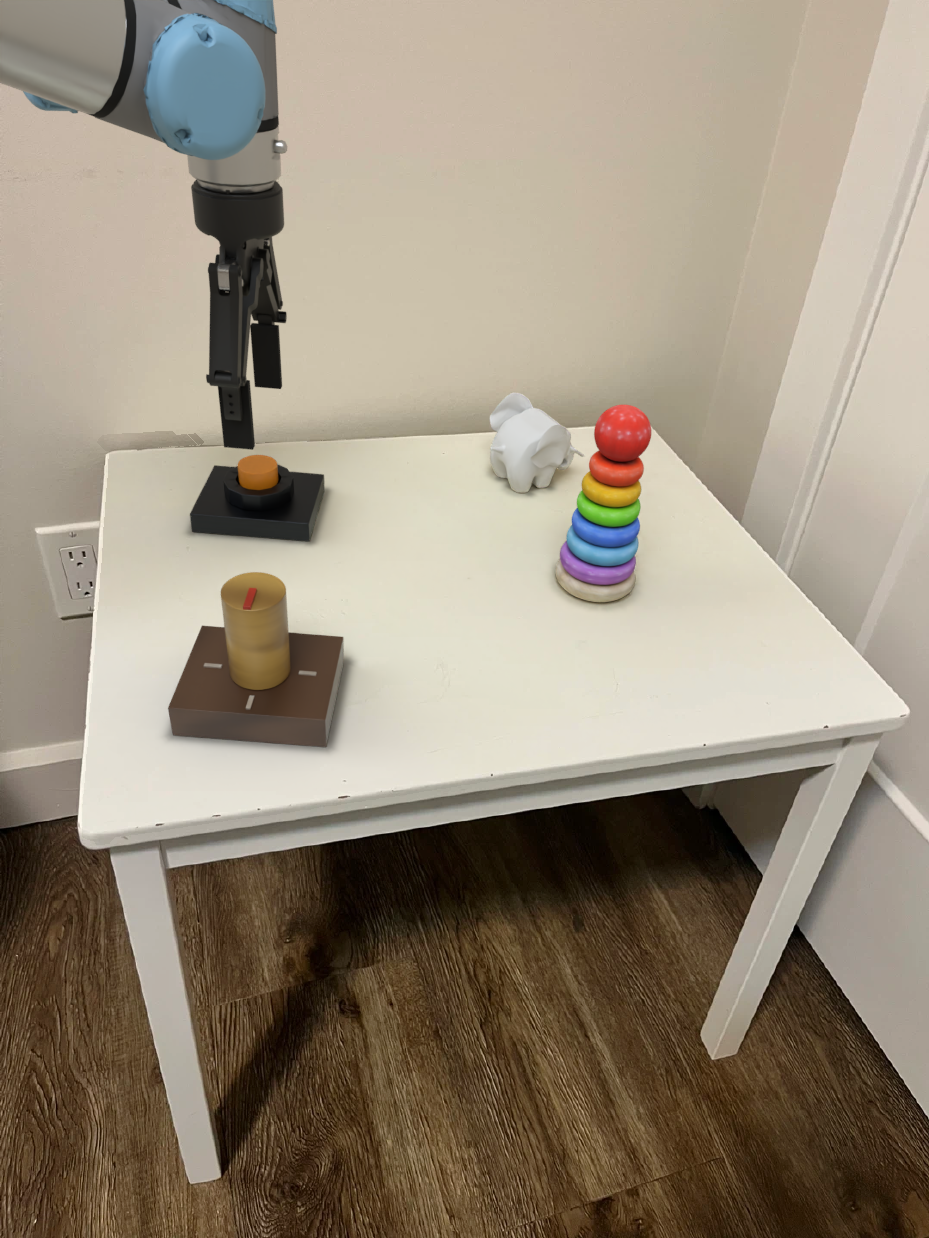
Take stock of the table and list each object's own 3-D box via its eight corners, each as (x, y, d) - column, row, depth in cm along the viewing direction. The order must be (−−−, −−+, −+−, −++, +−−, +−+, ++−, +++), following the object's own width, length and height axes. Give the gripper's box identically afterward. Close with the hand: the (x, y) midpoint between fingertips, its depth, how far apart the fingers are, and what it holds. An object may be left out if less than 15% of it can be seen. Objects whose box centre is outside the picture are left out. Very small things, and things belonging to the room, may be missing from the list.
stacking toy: (649, 591, 91) (693, 419, 79) (589, 615, 87) (625, 439, 75) (597, 551, 96) (631, 384, 84) (538, 572, 92) (565, 400, 80)
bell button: (235, 489, 93) (233, 472, 92) (243, 470, 96) (242, 453, 95) (274, 492, 93) (273, 475, 92) (281, 473, 96) (280, 456, 95)
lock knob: (236, 648, 75) (228, 566, 70) (295, 652, 75) (290, 571, 70) (223, 688, 71) (213, 604, 66) (284, 692, 71) (279, 609, 66)
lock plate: (172, 735, 71) (167, 706, 69) (205, 651, 79) (201, 623, 77) (326, 747, 71) (325, 718, 69) (343, 662, 79) (343, 635, 77)
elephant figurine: (595, 486, 106) (608, 416, 101) (508, 507, 101) (517, 435, 96) (549, 449, 113) (559, 381, 107) (465, 467, 107) (471, 397, 102)
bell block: (191, 532, 93) (187, 498, 90) (216, 482, 101) (212, 450, 98) (309, 541, 93) (308, 508, 91) (324, 491, 101) (323, 459, 98)
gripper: (248, 227, 67) (267, 481, 80) (306, 151, 86) (313, 367, 99) (146, 218, 67) (181, 474, 80) (227, 144, 86) (244, 361, 99)
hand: (254, 415), depth 90 cm, fingers open, 12 cm apart
